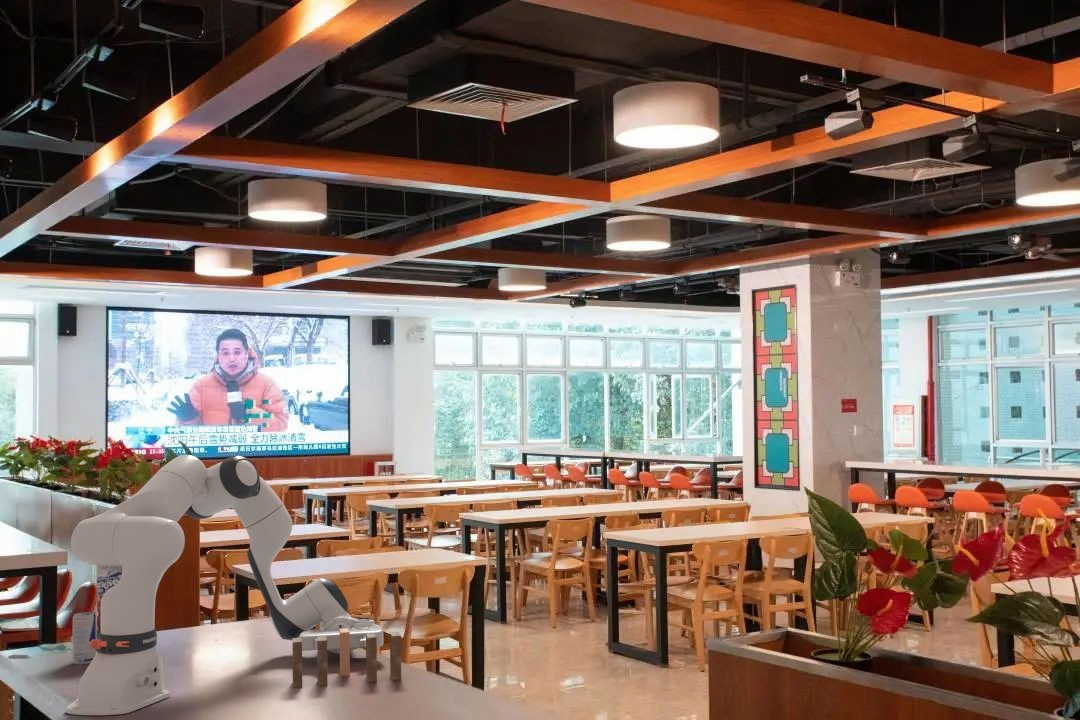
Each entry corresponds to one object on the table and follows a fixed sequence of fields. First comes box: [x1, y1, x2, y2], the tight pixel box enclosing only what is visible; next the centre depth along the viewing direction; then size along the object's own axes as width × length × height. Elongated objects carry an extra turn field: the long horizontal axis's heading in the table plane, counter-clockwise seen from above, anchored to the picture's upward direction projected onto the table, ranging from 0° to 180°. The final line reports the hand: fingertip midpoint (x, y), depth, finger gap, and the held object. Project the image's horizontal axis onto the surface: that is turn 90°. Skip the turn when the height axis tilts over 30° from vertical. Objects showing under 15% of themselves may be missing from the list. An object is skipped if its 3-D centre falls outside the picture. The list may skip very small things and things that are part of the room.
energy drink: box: [72, 611, 97, 666], centre depth 279 cm, size 5×5×12 cm
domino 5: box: [389, 631, 402, 682], centre depth 257 cm, size 2×5×10 cm, turn 14°
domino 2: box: [316, 636, 328, 687], centre depth 253 cm, size 2×5×10 cm, turn 13°
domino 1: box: [291, 638, 303, 689], centre depth 252 cm, size 2×5×10 cm, turn 14°
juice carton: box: [96, 566, 122, 640], centre depth 291 cm, size 9×10×27 cm
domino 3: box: [339, 628, 351, 677], centre depth 262 cm, size 2×5×10 cm, turn 14°
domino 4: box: [365, 633, 378, 683], centre depth 256 cm, size 2×5×10 cm, turn 14°
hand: (343, 645), depth 266 cm, fingers open, 8 cm apart
